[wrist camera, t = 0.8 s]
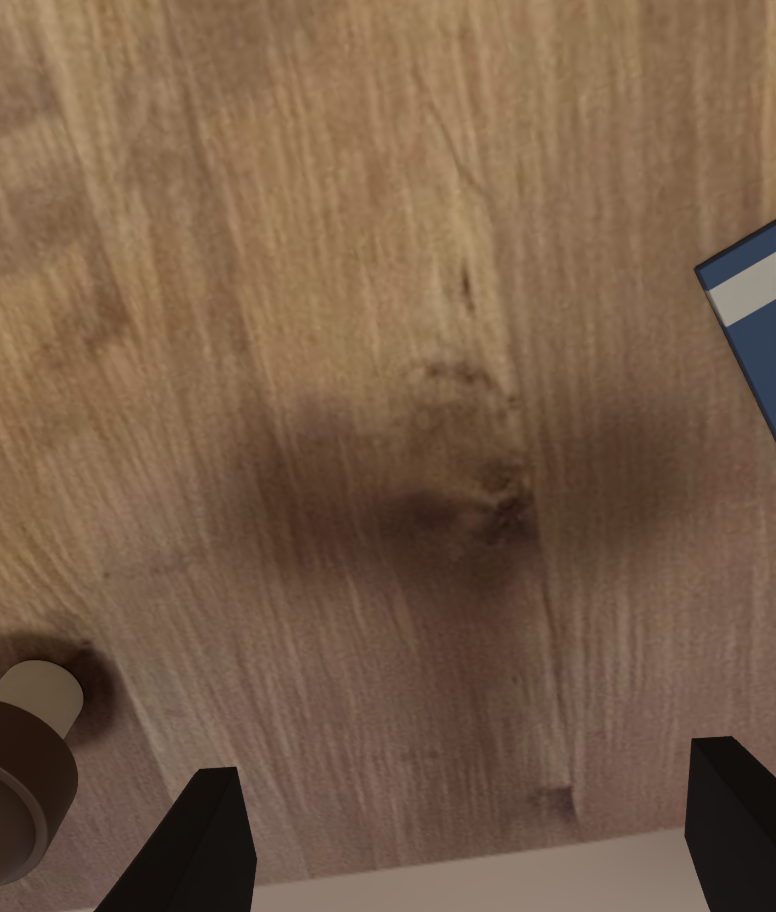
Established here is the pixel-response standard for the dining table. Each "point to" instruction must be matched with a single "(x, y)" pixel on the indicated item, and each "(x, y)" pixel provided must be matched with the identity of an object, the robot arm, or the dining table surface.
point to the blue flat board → (748, 310)
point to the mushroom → (34, 761)
